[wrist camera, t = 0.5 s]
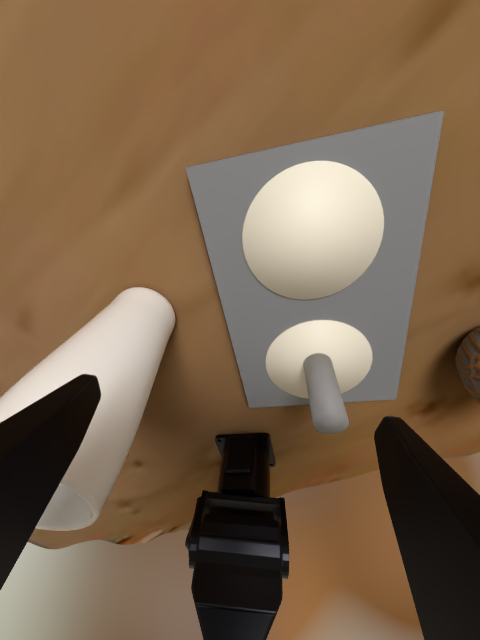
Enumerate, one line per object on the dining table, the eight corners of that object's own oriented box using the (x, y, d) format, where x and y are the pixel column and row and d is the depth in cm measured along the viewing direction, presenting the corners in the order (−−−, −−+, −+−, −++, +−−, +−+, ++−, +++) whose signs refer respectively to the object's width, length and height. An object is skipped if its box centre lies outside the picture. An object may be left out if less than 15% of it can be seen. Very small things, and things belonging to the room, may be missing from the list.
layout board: (391, 389, 27) (428, 464, 21) (249, 398, 29) (245, 468, 23) (432, 112, 15) (545, 96, 9) (190, 166, 18) (149, 182, 11)
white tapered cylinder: (154, 262, 21) (-2, 437, 9) (200, 327, 25) (132, 523, 12) (92, 295, 24) (-103, 473, 11) (141, 351, 27) (33, 538, 14)
